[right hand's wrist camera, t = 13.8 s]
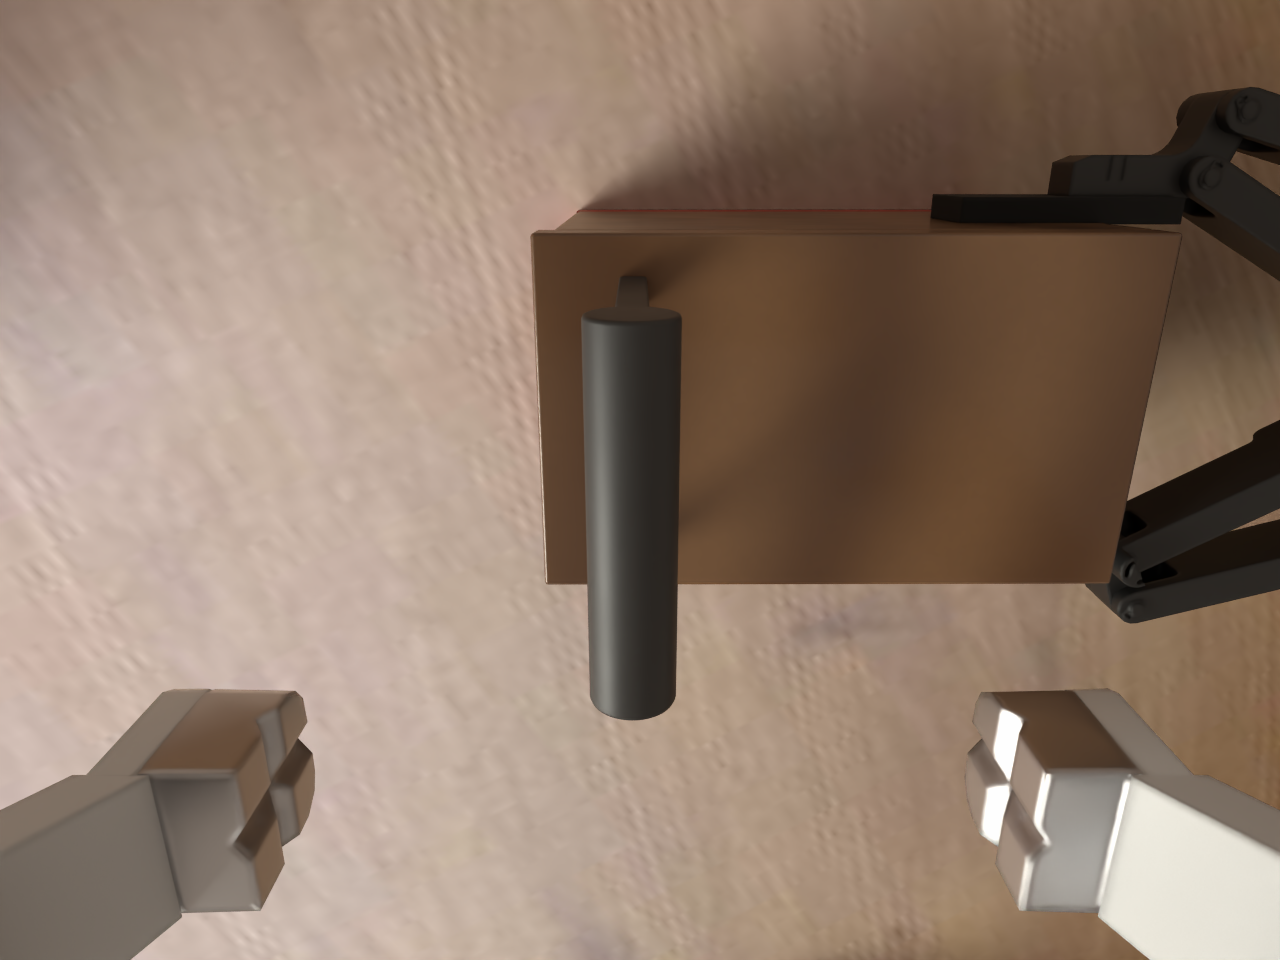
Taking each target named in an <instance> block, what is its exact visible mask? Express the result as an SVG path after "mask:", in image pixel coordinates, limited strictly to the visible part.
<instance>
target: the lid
mask: <svg viewBox="0 0 1280 960" xmlns="http://www.w3.org/2000/svg"><path fill="white" fill-rule="evenodd" d="M1181 240H1182V234H1180V233H1178V232H1169V231H1161V230H538V231H536V232H534V233H533V234H531V258H532V282H533V305H534V329H535V352H536V376H537V400H538V423H539V447H540V470H541V494H542V518H543V541H544V565H545V582H546V584H587V585H588V627H589V669H590V697H591V700H592V702H593V704H594V706H595V707H596V708H597V709H598V710H599V711H601V712H602V713H604V714H606V715H608V716H610V717H613V718H617V719H622V720H643V719H648V718H652V717H655V716H657V715H660V714H662V713H663V712H665V711H666V710H667V709H668V708H670V706H671V705H672V703H673V702H674V700H675V696H676V652H677V592H678V584H1065V583H1109V582H1110V579H1111V574H1112V570H1113V565H1114V560H1115V555H1116V551H1117V546H1118V541H1119V536H1120V531H1121V527H1122V522H1123V517H1124V512H1125V508H1126V503H1127V498H1128V493H1129V488H1130V484H1131V479H1132V474H1133V469H1134V464H1135V460H1136V455H1137V450H1138V445H1139V441H1140V436H1141V431H1142V426H1143V421H1144V417H1145V412H1146V407H1147V402H1148V397H1149V393H1150V388H1151V383H1152V378H1153V374H1154V369H1155V364H1156V359H1157V354H1158V350H1159V345H1160V340H1161V335H1162V330H1163V326H1164V321H1165V316H1166V311H1167V307H1168V302H1169V297H1170V292H1171V287H1172V283H1173V278H1174V273H1175V268H1176V263H1177V259H1178V254H1179V249H1180V244H1181Z"/></svg>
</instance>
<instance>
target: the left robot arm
mask: <svg viewBox="0 0 1280 960" xmlns="http://www.w3.org/2000/svg"><path fill="white" fill-rule="evenodd" d="M1176 120H1177V126H1178V128H1177V130H1176V132H1175V134H1174V136H1173V138H1172V139H1171V141H1170V142H1169V144H1168V145H1167V146H1166V147H1165V148H1164V149H1162V150H1161V151H1159V152H1157V153H1155V154H1152V155H1077V156H1068V157H1065V158H1063V159H1060V160H1058V161H1055V162H1053V163H1052V169H1051V176H1050V182H1049V189H1048V194H933V199H932V208H931V217H930V218H933V219H939V220H945V221H951V222H957V223H1103V224H1181V219H1182V216H1183V217H1185V218H1186V219H1188V220H1189V221H1191V222H1192V223H1194V224H1195V225H1197V226H1198V227H1200V228H1201V229H1203V230H1204V231H1206V232H1207V233H1209V234H1210V235H1212V236H1213V237H1215V238H1216V239H1218V240H1219V241H1221V242H1222V243H1224V244H1225V245H1227V246H1228V247H1230V248H1231V249H1233V250H1234V251H1236V252H1237V253H1239V254H1240V255H1242V256H1243V257H1245V258H1246V259H1248V260H1249V261H1251V262H1252V263H1254V264H1255V265H1257V266H1258V267H1260V268H1261V269H1262V270H1264V271H1265V272H1267V273H1268V274H1270V275H1271V276H1273V277H1274V278H1276V279H1277V280H1279V281H1280V196H1278V195H1277V194H1275V193H1274V192H1272V191H1271V190H1270V189H1268V188H1267V187H1265V186H1264V185H1262V184H1261V183H1259V182H1258V181H1257V180H1255V179H1254V178H1252V177H1251V176H1249V175H1248V174H1246V173H1245V172H1244V171H1242V170H1241V169H1239V168H1238V167H1236V166H1235V165H1233V164H1232V163H1231V162H1230V161H1231V159H1232V157H1233V156H1234V154H1235V152H1236V151H1238V152H1241V153H1244V154H1247V155H1250V156H1253V157H1256V158H1259V159H1262V160H1266V161H1269V162H1272V163H1275V164H1278V165H1280V95H1279V94H1276V93H1273V92H1270V91H1267V90H1264V89H1261V88H1255V87H1248V88H1240V89H1232V90H1225V91H1217V92H1209V93H1201V94H1196V95H1193V96H1190V97H1189V98H1188V99H1186V100H1185V101H1184V102H1183V103H1182V105H1181V106H1180V108H1179V109H1178V113H1177V117H1176ZM1279 508H1280V420H1279V421H1276V422H1274V423H1272V424H1270V425H1268V426H1266V427H1264V428H1262V429H1260V430H1258V431H1257V432H1255V433H1254V435H1253V440H1252V442H1250V443H1249V444H1246V445H1244V446H1242V447H1240V448H1238V449H1236V450H1234V451H1232V452H1230V453H1227V454H1225V455H1223V456H1221V457H1219V458H1217V459H1215V460H1213V461H1211V462H1209V463H1206V464H1204V465H1202V466H1200V467H1198V468H1196V469H1194V470H1192V471H1190V472H1187V473H1185V474H1183V475H1181V476H1179V477H1177V478H1175V479H1173V480H1171V481H1168V482H1166V483H1164V484H1162V485H1160V486H1158V487H1156V488H1154V489H1152V490H1150V491H1147V492H1145V493H1143V494H1141V495H1139V496H1137V497H1135V498H1133V499H1131V500H1128V501H1127V503H1126V508H1125V512H1124V517H1123V522H1122V527H1121V531H1120V536H1119V541H1118V546H1117V551H1116V555H1115V560H1114V565H1113V570H1112V574H1111V579H1110V582H1109V583H1085V584H1086V587H1088V588H1089V589H1090V590H1091V591H1092V592H1093V593H1094V594H1095V595H1096V596H1097V597H1098V598H1099V599H1100V600H1101V601H1102V602H1103V603H1104V604H1105V605H1107V606H1108V607H1109V608H1110V609H1111V610H1112V611H1113V612H1114V613H1115V614H1117V615H1118V616H1119V617H1120V618H1121V619H1122V620H1123V621H1124V622H1127V623H1139V622H1143V621H1148V620H1152V619H1156V618H1160V617H1164V616H1169V615H1173V614H1177V613H1181V612H1186V611H1190V610H1194V609H1198V608H1202V607H1207V606H1211V605H1215V604H1219V603H1224V602H1228V601H1232V600H1236V599H1241V598H1245V597H1249V596H1253V595H1257V594H1262V593H1266V592H1270V591H1274V590H1279V589H1280V520H1275V521H1271V522H1267V523H1263V524H1258V525H1254V526H1250V527H1246V528H1242V529H1238V530H1234V531H1231V530H1233V529H1236V528H1238V527H1240V526H1242V525H1244V524H1247V523H1249V522H1251V521H1253V520H1255V519H1257V518H1260V517H1262V516H1264V515H1266V514H1268V513H1270V512H1273V511H1275V510H1277V509H1279ZM1229 531H1230V532H1229Z"/></svg>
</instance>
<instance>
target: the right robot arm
mask: <svg viewBox="0 0 1280 960" xmlns="http://www.w3.org/2000/svg"><path fill="white" fill-rule="evenodd" d="M306 723H307V717H306V712H305V707H304V702H303V698H302V697H301V696H300V695H299V694H298V693H297V692H296V691H274V690H226V689H215V690H210V689H173V690H169V691H166V692H163V693H162V694H161V695H160V696H159V697H158V698H157V699H156V700H155V701H154V702H153V703H152V704H151V705H150V706H149V708H148V709H147V710H146V711H145V712H144V713H143V714H142V715H141V716H140V717H139V718H138V719H137V721H136V722H135V723H134V724H133V725H132V726H131V727H130V728H129V729H128V730H127V731H126V732H125V734H124V735H123V736H122V737H121V738H120V739H119V740H118V741H117V742H116V743H115V744H114V745H113V747H112V748H111V749H110V750H109V751H108V752H107V753H106V754H105V755H104V756H103V757H102V759H101V760H100V761H99V762H98V763H97V764H96V765H95V766H94V767H93V768H92V769H91V770H90V772H89V773H88V774H87V775H72V776H70V777H68V778H66V779H63V780H61V781H59V782H57V783H55V784H53V785H51V786H49V787H47V788H45V789H43V790H41V791H39V792H37V793H35V794H33V795H31V796H29V797H27V798H24V799H22V800H20V801H18V802H16V803H14V804H12V805H10V806H8V807H6V808H4V809H2V810H0V960H131V959H132V958H133V957H134V956H136V955H137V954H138V953H139V952H140V951H142V950H143V949H144V948H145V947H146V946H148V945H149V944H150V943H151V942H152V941H154V940H155V939H156V938H157V937H158V936H160V935H161V934H162V933H163V932H165V931H166V930H167V929H168V928H169V927H171V926H172V925H173V924H174V923H175V922H177V921H178V920H179V919H180V918H181V917H182V914H181V913H197V912H231V911H261V909H262V907H263V905H264V903H265V901H266V899H267V897H268V895H269V893H270V891H271V889H272V887H273V885H274V884H275V882H276V880H277V878H278V876H279V874H280V872H281V870H282V868H283V866H284V864H285V863H284V857H283V851H282V846H284V845H285V844H287V843H288V842H290V841H291V840H292V839H294V838H295V837H297V836H298V835H300V833H301V831H302V829H303V827H304V824H305V822H306V820H307V818H308V816H309V813H310V808H311V804H312V800H313V795H314V791H315V768H314V761H313V754H312V752H311V751H310V750H309V749H308V748H307V747H306V746H305V745H304V744H303V743H302V742H301V741H300V740H299V739H298V737H299V735H300V734H301V732H302V730H303V728H304V727H305V725H306ZM973 723H974V725H975V727H976V728H977V730H978V732H979V734H980V735H981V737H982V739H981V740H980V741H979V742H978V743H977V744H976V745H975V746H974V747H973V748H972V749H971V750H970V751H969V752H968V754H967V762H966V771H965V785H966V795H967V802H968V805H969V809H970V812H971V816H972V818H973V821H974V823H975V825H976V827H977V829H978V831H979V833H980V835H982V836H983V837H985V838H986V839H988V840H989V841H991V842H992V843H993V844H995V845H996V846H998V851H997V857H996V863H995V864H996V866H997V868H998V870H999V872H1000V874H1001V876H1002V878H1003V880H1004V882H1005V883H1006V885H1007V887H1008V889H1009V891H1010V893H1011V895H1012V897H1013V899H1014V901H1015V903H1016V905H1017V906H1018V908H1019V910H1020V911H1047V912H1082V913H1099V914H1098V917H1099V918H1100V919H1101V920H1103V921H1104V922H1105V923H1106V924H1107V925H1109V926H1110V927H1111V928H1112V929H1113V930H1115V931H1116V932H1117V933H1118V934H1119V935H1121V936H1122V937H1123V938H1124V939H1125V940H1127V941H1128V942H1129V943H1130V944H1132V945H1133V946H1134V947H1135V948H1136V949H1138V950H1139V951H1140V952H1141V953H1142V954H1144V955H1145V956H1146V957H1147V958H1148V959H1150V960H1280V810H1278V809H1276V808H1274V807H1272V806H1270V805H1268V804H1266V803H1264V802H1262V801H1260V800H1257V799H1255V798H1253V797H1251V796H1249V795H1247V794H1245V793H1243V792H1241V791H1239V790H1237V789H1235V788H1233V787H1231V786H1229V785H1227V784H1225V783H1223V782H1221V781H1219V780H1217V779H1214V778H1212V777H1210V776H1208V775H1193V774H1192V773H1191V772H1190V770H1189V769H1188V768H1187V767H1186V766H1185V765H1184V764H1183V763H1182V762H1181V761H1180V760H1179V759H1178V757H1177V756H1176V755H1175V754H1174V753H1173V752H1172V751H1171V750H1170V749H1169V748H1168V747H1167V745H1166V744H1165V743H1164V742H1163V741H1162V740H1161V739H1160V738H1159V737H1158V736H1157V735H1156V734H1155V732H1154V731H1153V730H1152V729H1151V728H1150V727H1149V726H1148V725H1147V724H1146V723H1145V722H1144V720H1143V719H1142V718H1141V717H1140V716H1139V715H1138V714H1137V713H1136V712H1135V711H1134V710H1133V709H1132V707H1131V706H1130V705H1129V704H1128V703H1127V702H1126V701H1125V700H1124V699H1123V698H1122V697H1121V696H1120V694H1119V693H1117V692H1114V691H1112V690H1110V689H1108V688H1107V689H1078V690H1065V691H1018V692H981V694H980V696H979V698H978V700H977V702H976V705H975V710H974V716H973Z"/></svg>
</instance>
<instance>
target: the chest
mask: <svg viewBox="0 0 1280 960" xmlns="http://www.w3.org/2000/svg"><path fill="white" fill-rule="evenodd" d="M930 217H931V210H578V211H577V213H576V214H575V215H574V216H572V217H571V218H570V219H569V220H567V221H566V222H565V223H563V224H562V225H561V226H560V227H558V228H557V229H556V230H1151V229H1145V228H1136V227H1128V226H1120V225H1112V224H1103V223H957V222H951V221H945V220H939V219H933V218H930Z"/></svg>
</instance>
